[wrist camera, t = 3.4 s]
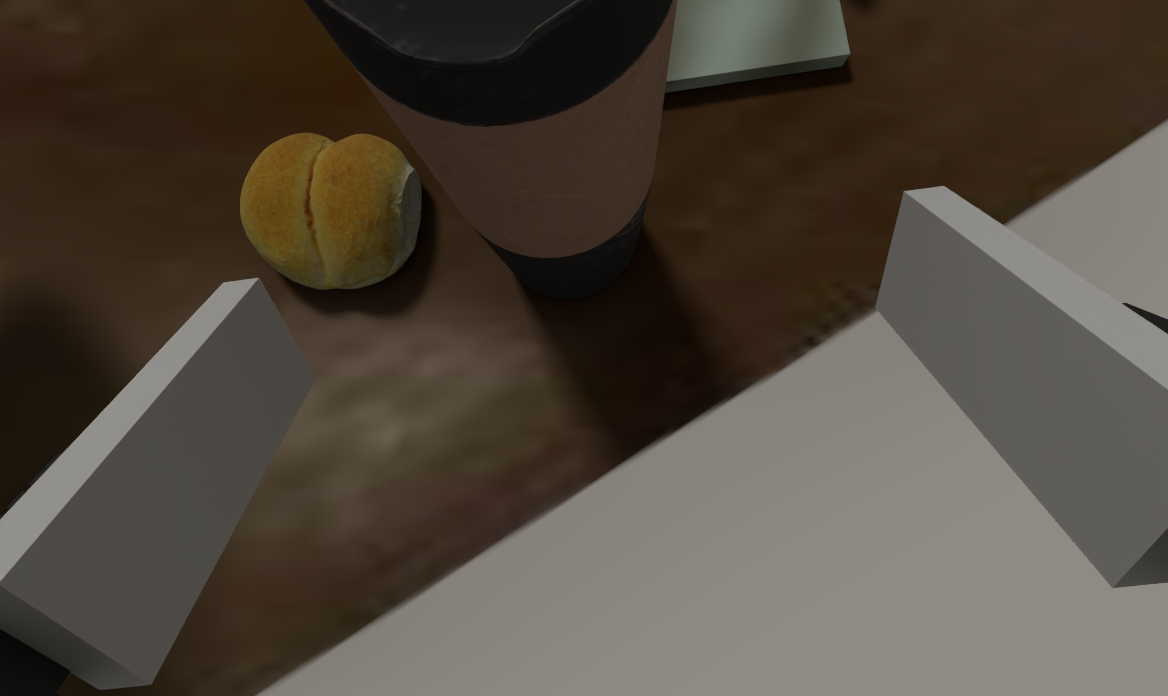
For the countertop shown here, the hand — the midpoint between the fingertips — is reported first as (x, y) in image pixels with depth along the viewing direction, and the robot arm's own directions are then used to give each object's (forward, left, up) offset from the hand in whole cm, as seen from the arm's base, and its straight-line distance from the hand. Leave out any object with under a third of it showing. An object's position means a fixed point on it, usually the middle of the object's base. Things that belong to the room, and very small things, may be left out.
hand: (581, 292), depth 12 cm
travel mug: (-1, +7, -16) cm, 18 cm away
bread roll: (-13, +10, -17) cm, 23 cm away
